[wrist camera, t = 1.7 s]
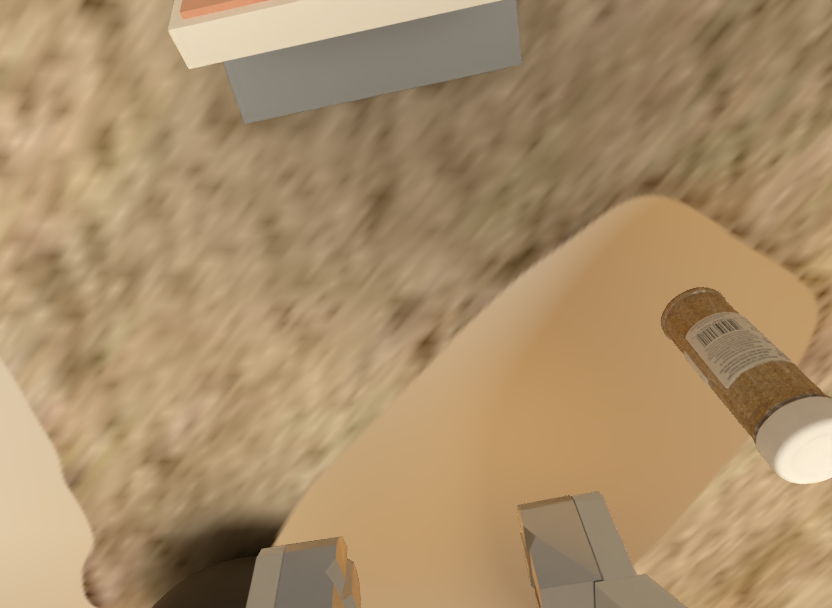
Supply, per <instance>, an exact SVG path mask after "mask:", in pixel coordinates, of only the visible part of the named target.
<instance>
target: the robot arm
mask: <svg viewBox="0 0 832 608" xmlns="http://www.w3.org/2000/svg"><path fill="white" fill-rule="evenodd" d="M517 511H518V519H519V522H520V527H521V531H522V532H521V539H522V544H523V550H524V556H525V561H526V565H527V570H528V574H529V578H530V582H531V586H532V587H533V588H534V589H535V597H536V604H537V608H688V607H686V606H685V605H684V604H683V603H681V602H680V601H679V600H678V599H676V598H675V597H674V596H673V595H671V594H670V593H669V592H668V591H666V590H665V589H664V588H663V587H661V586H660V585H659V584H658V583H656V582H655V581H654V580H653V579H651V578H650V577H649V576H648V575H646V574H643V575H637V574H636V571H635V569H634V567H633V564H632V562H631V560H630V558H629V555H628V553H627V551H626V548H625V546H624V544H623V541H622V539H621V537H620V534H619V532H618V530H617V527H616V525H615V523H614V520H613V518H612V516H611V513H610V511H609V509H608V506H607V504H606V502H605V500H604V497H603V496H602V494H600V492H598V491H595V492H590V493H585V494H579V495H574V496H571V497H570V495H569V496H564V497H558V498H553V499H548V500H542V501H537V502H532V503H527V504H521V505H517ZM360 602H361V598H360V586H359V579H358V575H357V570H356V567H355V565H354V562H352V561H351V560H349V559H347V546H346V543H345V541H344V539H343V537H335V538H329V539H322V540H315V541H309V542H302V543H296V544H288V545H282V546H276V547H270V548H264V549H261V551H260V553H259V555H258V556H257V558H256V562H255V567H254V572H253V576H252V581H251V586H250V590H249V595H248V600H247V604H246V608H360V604H361V603H360Z"/></svg>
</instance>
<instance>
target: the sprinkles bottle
mask: <svg viewBox="0 0 832 608" xmlns="http://www.w3.org/2000/svg"><path fill="white" fill-rule="evenodd" d="M661 326H662V329H663V331H664V333H665V334H666V336H667V337H668V338H669V339H670V340H672V341H673V342H674V343H675V344H676V346H677V347H678V348H679V349H680V351H681V352H683V354H684V355H685V358H686V359H687V361H688V362H689V363H690V364H691V366H692V367H693V368H694V369H695V371H696V372H697V373H698V374H699V376H700V377H701V378H702V379H703V380H704V382H705V383H706V384H707V385H708V386H709V387H710V388H711V389H712V390H714V392H715V393H716V394H717V396H718V397H719V398H720V399H721V400H722V402H723V403H724V404H725V406H726V407H727V408H728V409H729V411H730V412H731V413H732V414H733V415H734V417H735V418H736V419H737V420H738V422H739V423H740V424H741V425H742V426H743V427H744V428H745V429H746V431H747V432H748V433H749V434H750V435H751V436H752V438H753V440H754V442H755V444H756V447H757V449H758V451H759V453H760V454H761V455H762V457H763V458H764V459H765V460H766V462H767V463H768V464H769V465H770V466H771V467H772V469H773V470H774V471H775V472H776V473H777V474H778V475H779V476H780V477H781V478H783V479H784V480H786V481H789V482H792V483H798V484H809V483H816V482H821V481H824V480H827V479H830V478H832V398H830V397H829V396H827V395H826V394H824V393H823V392H822V391H821V390H820V389H819V388H818V387H817V386H816V385H815V384H814V383H813V382H812V381H811V380H810V379H809V378H807V377H806V376H805V375H804V374H803V373H802V372H801V371H800V370H799V368H798V367H797V366H796V365H795V364H794V363H793V362H792V361H791V360H790V359H789V358H788V357H787V356H786V355H784V354H783V353H782V352H781V351H780V350H779V349H778V348H777V347H776V346H775V345H774V344H773V343H772V342H771V341H769V340H768V339H767V338H766V337H765V336H764V335H763V334H762V333H761V332H760V331H759V330H757V328H756V327H755V326H753V325H752V324H751V323H750V322H749V321H748V320H747V319H746V318H745V317H743V316H742V315H740V314H739V313H738V312H737V311H736V310H734V309H733V308H732V306H730V305H729V304H728V303H727V302H726V300H725V298H724V297H723V296H722V295H721V294H720V293H719V292H717V291H716V290H714V289H710V288H703V287H702V288H693V289H690V290H687V291H685V292H683V293H681V294H679V295H678V296H676V297H675V298H674V299H673V300H671V302H670V303H669V304H668V305H667V306H666V308H665V310H664V312H663V315H662V317H661Z"/></svg>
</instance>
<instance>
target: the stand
mask: <svg viewBox="0 0 832 608" xmlns="http://www.w3.org/2000/svg"><path fill="white" fill-rule="evenodd" d="M223 64H224V67H225V70H226V72H227V75H228V78H229V81H230V84H231V87H232V90H233V93H234V95H235V98H236V101H237V104H238V107H239V110H240V113H241V116H242V118H243V121H244V124H248V123H253V122H257V121H262V120H267V119H271V118H276V117H281V116H285V115H290V114H295V113H299V112H304V111H309V110H313V109H318V108H323V107H327V106H332V105H337V104H341V103H346V102H351V101H355V100H360V99H365V98H369V97H374V96H379V95H383V94H388V93H393V92H397V91H402V90H407V89H411V88H416V87H421V86H426V85H430V84H435V83H440V82H444V81H449V80H454V79H458V78H463V77H468V76H472V75H477V74H482V73H486V72H491V71H496V70H500V69H505V68H510V67H514V66H519V65H522V59H521V47H520V35H519V23H518V12H517V0H501V1H496V2H492V3H487V4H483V5H478V6H473V7H469V8H464V9H460V10H455V11H451V12H446V13H442V14H437V15H433V16H428V17H424V18H419V19H415V20H410V21H405V22H401V23H396V24H392V25H387V26H383V27H378V28H374V29H369V30H365V31H360V32H356V33H351V34H346V35H342V36H337V37H333V38H328V39H324V40H319V41H315V42H310V43H306V44H301V45H297V46H292V47H287V48H283V49H278V50H274V51H269V52H265V53H260V54H256V55H251V56H247V57H242V58H238V59H233V60H228V61H224V62H223Z"/></svg>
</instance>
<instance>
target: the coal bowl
mask: <svg viewBox="0 0 832 608" xmlns="http://www.w3.org/2000/svg"><path fill="white" fill-rule="evenodd" d="M256 558H257V556H250V557H242V558H236V559H231V560H227V561H224V562H221V563H218V564H215V565H212V566H210V567H207V568H205V569H203V570H201V571H199V572H197V573H196V574H194V575H192V576H190V577H188V578H187V579H185V580H184V581H183V582H181V583H180V584H178V585H177V586H176V587H174V588H173V589H172V590H170V591H169V592H168V593H167V594H166V595H165V596H163V597H162V598H161V599H160V600H159V601H158V602H157V603H156V604H155V605H154V606H153V607H152V608H246V604H247V600H248V595H249V590H250V586H251V581H252V576H253V572H254V567H255V562H256Z"/></svg>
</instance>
